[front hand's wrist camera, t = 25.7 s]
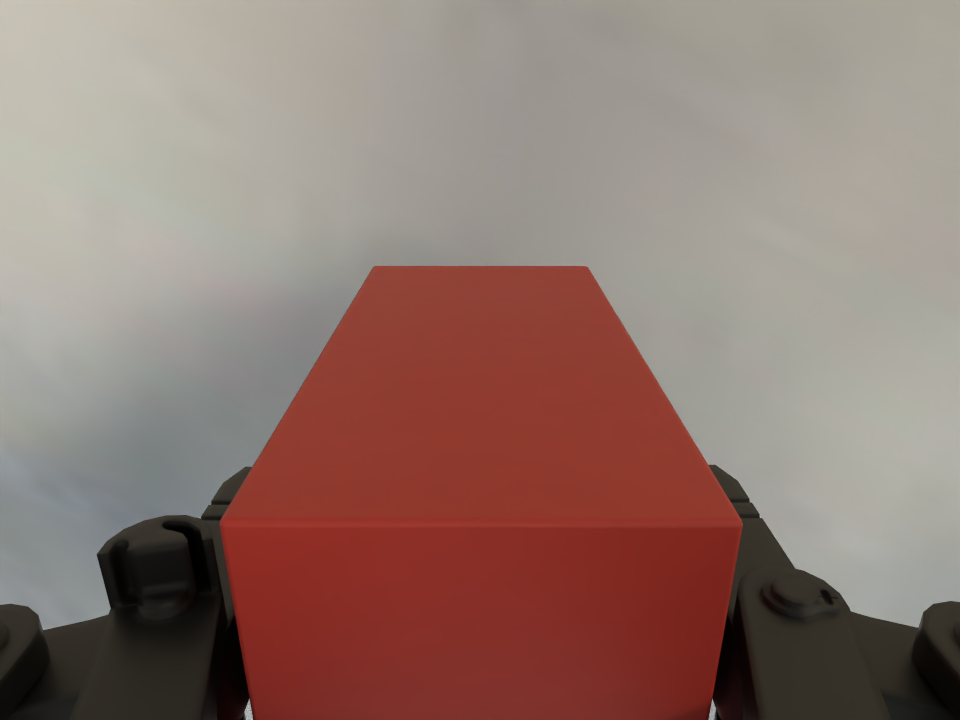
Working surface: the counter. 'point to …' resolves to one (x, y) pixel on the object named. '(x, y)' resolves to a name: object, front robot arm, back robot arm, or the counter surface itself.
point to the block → (480, 516)
